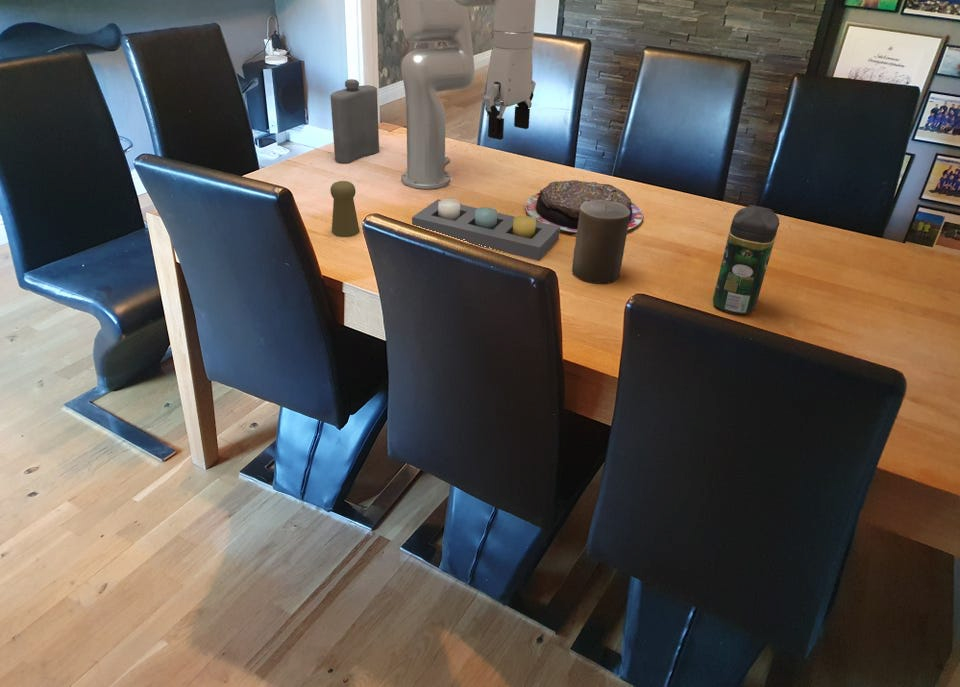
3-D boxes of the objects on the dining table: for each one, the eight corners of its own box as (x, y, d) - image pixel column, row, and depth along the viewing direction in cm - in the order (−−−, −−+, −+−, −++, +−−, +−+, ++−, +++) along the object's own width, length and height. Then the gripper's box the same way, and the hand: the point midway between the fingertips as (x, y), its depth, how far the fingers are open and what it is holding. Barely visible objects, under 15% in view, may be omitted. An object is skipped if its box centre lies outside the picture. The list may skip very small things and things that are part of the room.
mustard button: (517, 228, 155) (518, 214, 153) (538, 233, 153) (539, 218, 152) (508, 236, 151) (509, 221, 150) (529, 241, 150) (531, 226, 148)
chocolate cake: (598, 186, 185) (601, 162, 182) (667, 228, 164) (672, 201, 161) (503, 201, 174) (505, 175, 171) (564, 248, 154) (567, 219, 150)
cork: (354, 238, 152) (351, 189, 146) (327, 235, 153) (323, 186, 147) (363, 227, 157) (361, 179, 151) (337, 224, 158) (334, 176, 152)
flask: (367, 147, 203) (364, 74, 192) (382, 151, 200) (380, 77, 189) (329, 160, 192) (323, 83, 181) (344, 165, 190) (339, 87, 179)
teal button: (480, 220, 158) (481, 205, 156) (500, 224, 156) (500, 210, 155) (470, 227, 154) (471, 213, 153) (490, 232, 153) (491, 217, 151)
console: (437, 211, 166) (438, 199, 165) (558, 239, 156) (560, 226, 154) (412, 229, 157) (411, 217, 155) (538, 260, 147) (539, 247, 145)
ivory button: (444, 211, 161) (444, 197, 159) (463, 216, 160) (463, 201, 158) (434, 219, 157) (434, 204, 156) (453, 223, 156) (453, 209, 154)
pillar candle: (608, 289, 138) (620, 216, 130) (562, 274, 142) (572, 203, 134) (627, 270, 145) (639, 201, 137) (583, 257, 149) (593, 189, 141)
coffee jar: (717, 287, 140) (740, 198, 130) (759, 298, 137) (785, 207, 127) (706, 309, 133) (730, 216, 123) (750, 320, 130) (777, 226, 120)
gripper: (519, 33, 141) (515, 121, 150) (470, 44, 128) (468, 139, 137) (553, 37, 137) (546, 127, 146) (505, 49, 125) (501, 146, 134)
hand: (508, 132), depth 142 cm, fingers open, 9 cm apart
